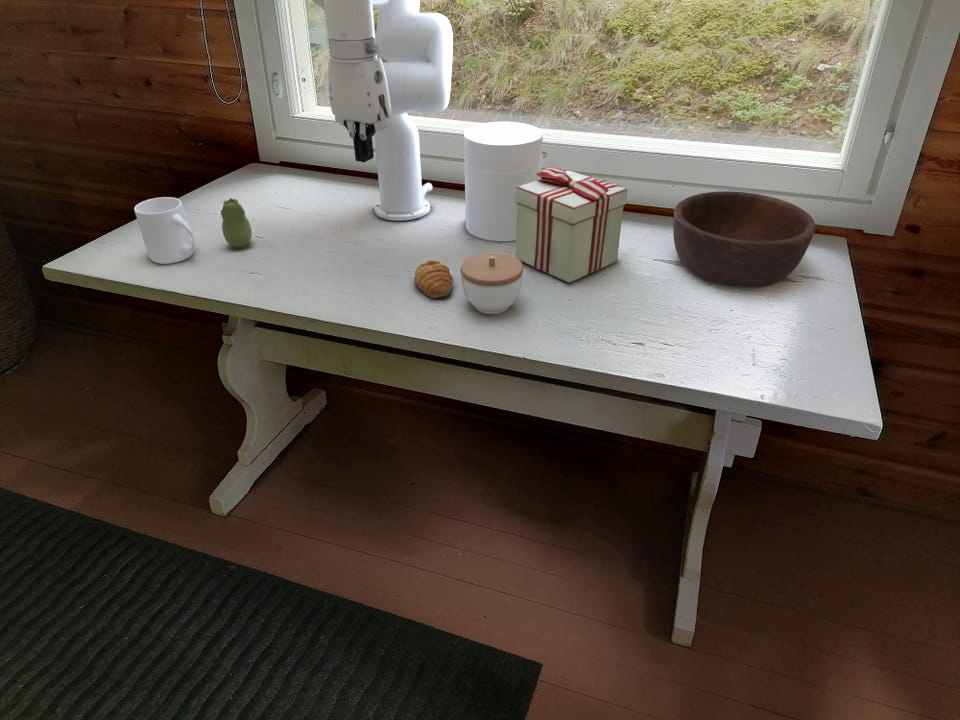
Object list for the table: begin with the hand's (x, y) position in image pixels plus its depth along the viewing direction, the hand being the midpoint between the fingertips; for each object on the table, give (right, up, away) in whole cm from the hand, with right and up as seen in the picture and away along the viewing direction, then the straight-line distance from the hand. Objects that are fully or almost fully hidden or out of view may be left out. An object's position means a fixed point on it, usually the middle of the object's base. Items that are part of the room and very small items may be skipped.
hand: (364, 159), depth 124 cm
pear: (-29, -12, +20) cm, 37 cm away
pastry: (+12, -22, +5) cm, 26 cm away
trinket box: (+23, -26, -1) cm, 35 cm away
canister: (+25, -7, +27) cm, 38 cm away
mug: (-40, -15, +16) cm, 46 cm away
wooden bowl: (+70, -18, +11) cm, 73 cm away
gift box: (+38, -16, +14) cm, 44 cm away
